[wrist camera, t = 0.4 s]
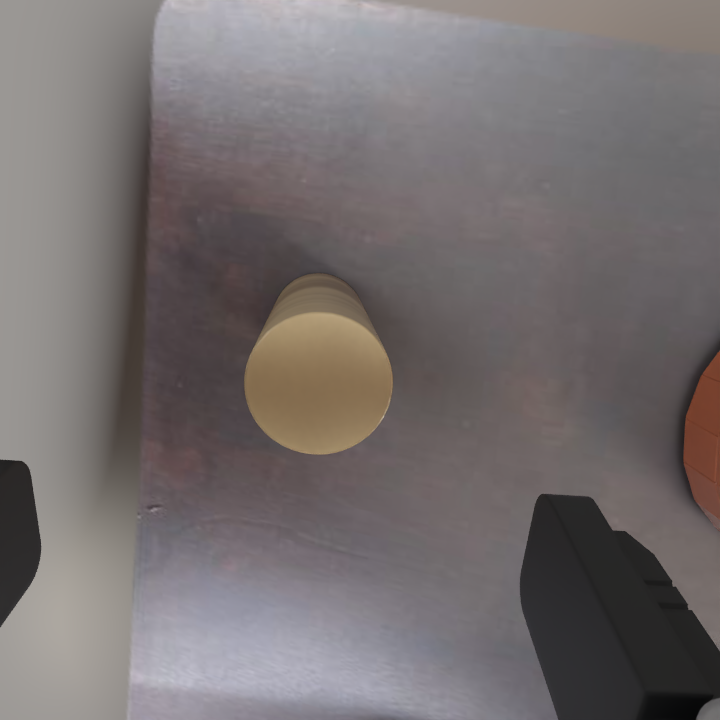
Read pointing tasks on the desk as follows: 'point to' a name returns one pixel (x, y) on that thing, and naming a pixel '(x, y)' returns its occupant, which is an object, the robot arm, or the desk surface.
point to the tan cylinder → (318, 369)
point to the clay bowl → (705, 442)
